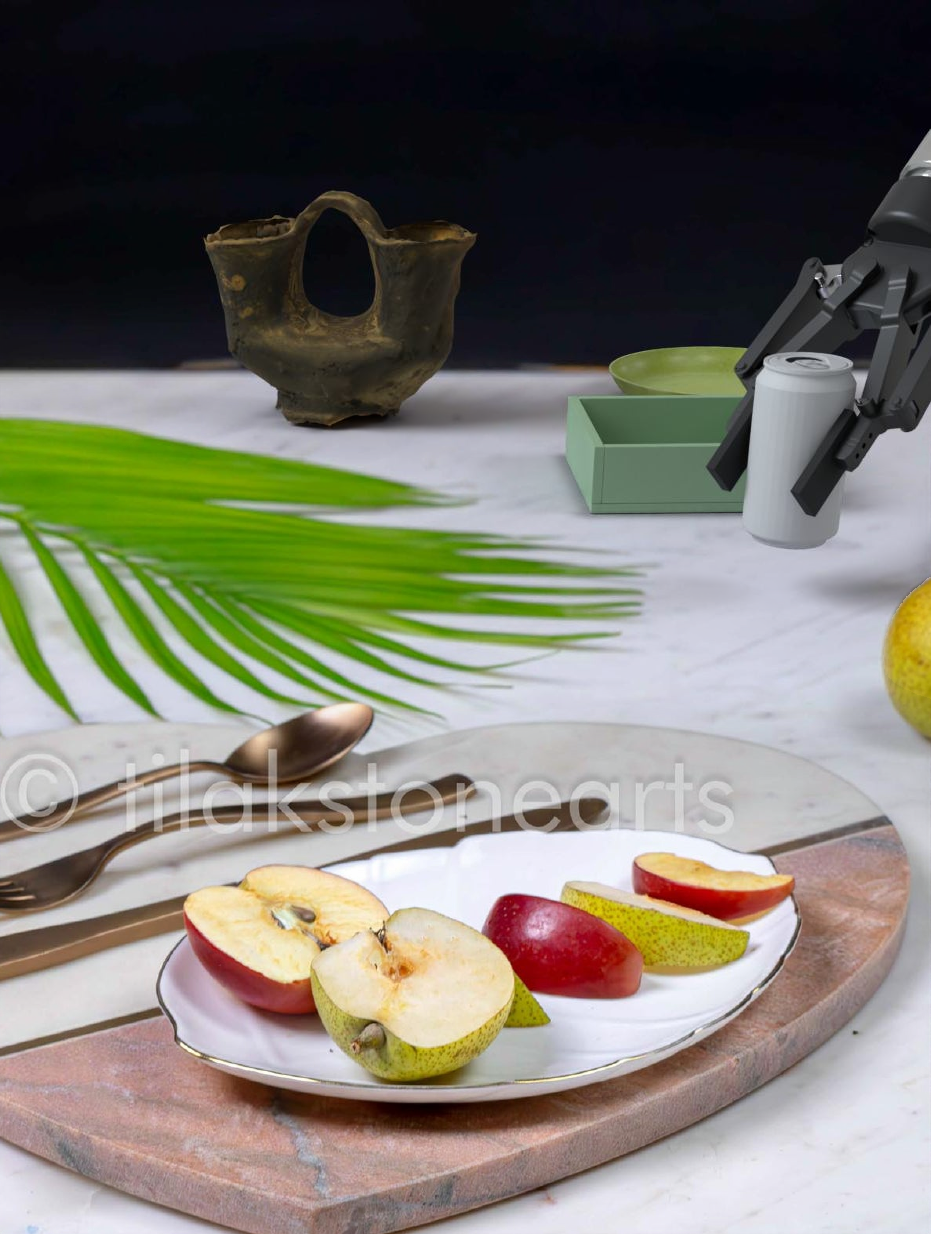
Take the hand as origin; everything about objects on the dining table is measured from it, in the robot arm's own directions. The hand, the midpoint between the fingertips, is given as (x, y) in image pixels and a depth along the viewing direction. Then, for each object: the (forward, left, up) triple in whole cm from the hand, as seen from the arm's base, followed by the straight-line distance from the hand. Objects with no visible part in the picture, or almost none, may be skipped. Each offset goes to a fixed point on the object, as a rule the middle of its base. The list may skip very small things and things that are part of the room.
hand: (759, 491), depth 111 cm
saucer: (-9, -53, -8) cm, 55 cm away
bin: (0, -27, -8) cm, 28 cm away
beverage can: (-3, -2, -4) cm, 5 cm away
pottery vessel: (+27, -49, -8) cm, 57 cm away
